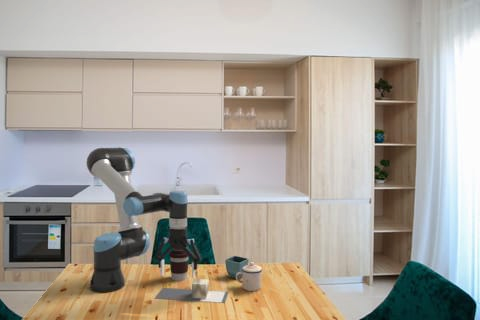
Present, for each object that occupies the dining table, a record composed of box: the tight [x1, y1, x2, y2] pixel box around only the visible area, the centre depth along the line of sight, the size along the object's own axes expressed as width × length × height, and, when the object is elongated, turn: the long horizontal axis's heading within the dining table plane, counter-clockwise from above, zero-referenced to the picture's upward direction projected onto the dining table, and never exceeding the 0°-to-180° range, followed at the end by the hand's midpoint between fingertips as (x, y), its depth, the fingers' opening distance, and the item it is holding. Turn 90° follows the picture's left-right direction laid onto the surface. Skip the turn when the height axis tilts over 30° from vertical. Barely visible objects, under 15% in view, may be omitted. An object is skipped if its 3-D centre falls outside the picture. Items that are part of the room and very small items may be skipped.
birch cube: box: [191, 278, 210, 299], centre depth 166 cm, size 6×6×6 cm
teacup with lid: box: [235, 261, 263, 292], centre depth 177 cm, size 12×9×12 cm
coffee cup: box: [168, 248, 190, 282], centre depth 186 cm, size 10×10×15 cm
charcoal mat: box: [153, 287, 230, 304], centre depth 166 cm, size 30×12×1 cm, turn 84°
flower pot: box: [224, 255, 250, 280], centre depth 191 cm, size 9×9×9 cm
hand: (177, 276), depth 166 cm, fingers open, 13 cm apart
